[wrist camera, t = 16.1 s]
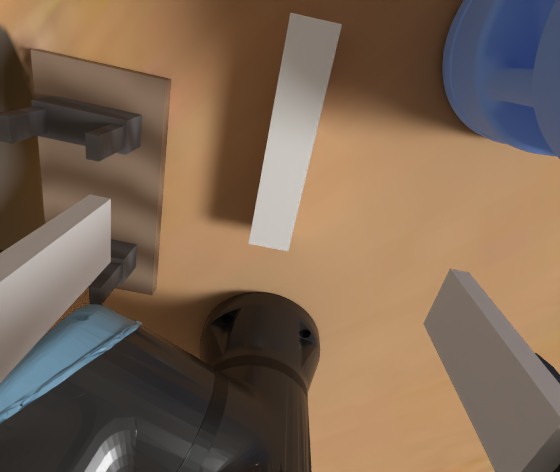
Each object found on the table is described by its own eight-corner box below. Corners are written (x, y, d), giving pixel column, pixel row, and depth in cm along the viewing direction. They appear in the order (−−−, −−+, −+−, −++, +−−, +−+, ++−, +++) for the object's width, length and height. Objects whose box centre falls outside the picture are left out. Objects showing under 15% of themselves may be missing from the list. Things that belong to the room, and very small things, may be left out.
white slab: (288, 230, 41) (288, 251, 36) (253, 223, 41) (248, 243, 36) (335, 28, 32) (342, 24, 28) (291, 18, 32) (290, 12, 27)
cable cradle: (156, 288, 45) (123, 342, 36) (56, 268, 44) (-1, 319, 35) (171, 79, 34) (129, 85, 26) (41, 49, 33) (-46, 46, 25)
